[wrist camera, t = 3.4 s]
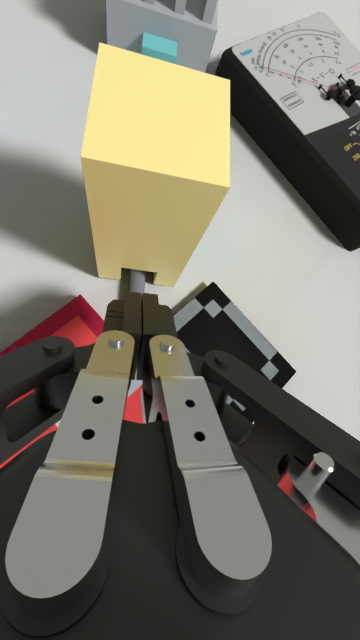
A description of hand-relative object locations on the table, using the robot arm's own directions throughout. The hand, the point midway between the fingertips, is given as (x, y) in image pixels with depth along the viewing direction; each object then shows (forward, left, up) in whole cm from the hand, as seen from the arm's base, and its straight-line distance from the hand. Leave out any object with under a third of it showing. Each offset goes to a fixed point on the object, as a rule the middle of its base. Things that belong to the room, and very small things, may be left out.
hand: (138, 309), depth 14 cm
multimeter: (+16, +20, -6) cm, 26 cm away
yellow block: (0, +6, -5) cm, 8 cm away
